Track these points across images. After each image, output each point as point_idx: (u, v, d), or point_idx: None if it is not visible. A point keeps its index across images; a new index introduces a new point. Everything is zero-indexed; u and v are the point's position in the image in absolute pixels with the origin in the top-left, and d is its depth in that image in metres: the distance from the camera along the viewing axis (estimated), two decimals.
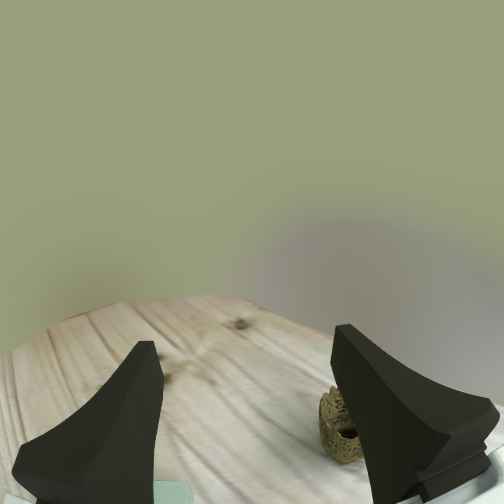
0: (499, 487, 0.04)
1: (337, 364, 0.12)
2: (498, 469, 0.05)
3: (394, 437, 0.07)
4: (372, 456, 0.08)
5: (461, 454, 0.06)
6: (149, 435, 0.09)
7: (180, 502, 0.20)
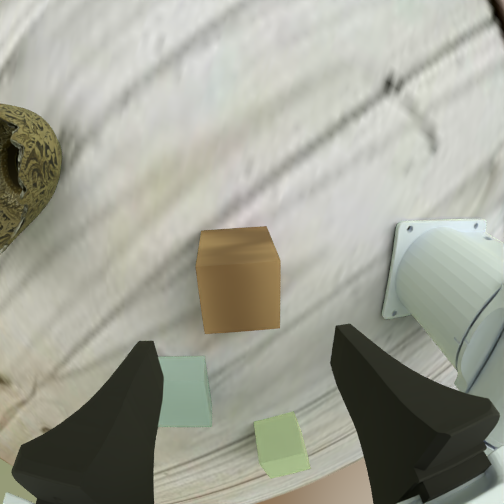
0: (499, 487, 0.04)
1: (337, 364, 0.12)
2: (498, 469, 0.05)
3: (394, 437, 0.07)
4: (372, 456, 0.08)
5: (461, 454, 0.06)
6: (149, 435, 0.09)
7: None
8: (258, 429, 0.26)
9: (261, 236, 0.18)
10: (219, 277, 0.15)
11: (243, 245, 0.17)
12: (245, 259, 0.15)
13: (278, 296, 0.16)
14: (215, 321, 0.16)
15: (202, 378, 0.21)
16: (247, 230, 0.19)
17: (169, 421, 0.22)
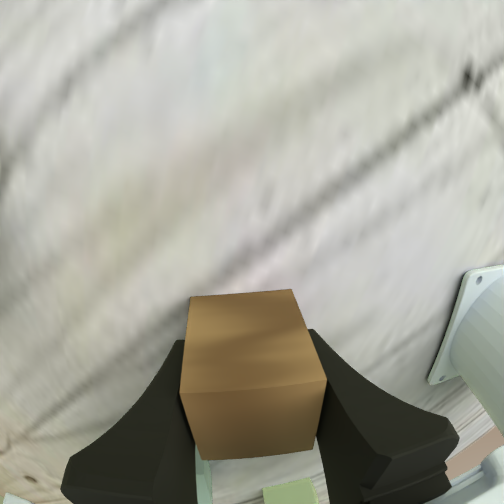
0: (499, 487, 0.04)
1: None
2: (498, 469, 0.05)
3: (344, 451, 0.07)
4: (328, 467, 0.08)
5: (416, 474, 0.05)
6: (191, 436, 0.09)
7: None
8: (268, 497, 0.19)
9: (286, 314, 0.11)
10: (222, 405, 0.08)
11: (258, 338, 0.10)
12: (267, 378, 0.08)
13: (316, 420, 0.09)
14: (217, 449, 0.09)
15: (202, 470, 0.14)
16: (263, 299, 0.12)
17: None
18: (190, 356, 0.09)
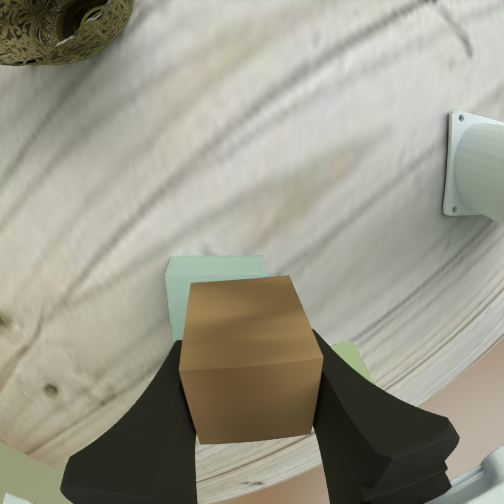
0: (499, 487, 0.04)
1: None
2: (498, 469, 0.05)
3: (344, 451, 0.07)
4: (329, 467, 0.08)
5: (416, 474, 0.05)
6: (191, 436, 0.09)
7: None
8: None
9: (284, 298, 0.11)
10: (220, 383, 0.08)
11: (256, 320, 0.10)
12: (265, 356, 0.08)
13: (314, 401, 0.09)
14: (215, 432, 0.09)
15: (265, 272, 0.19)
16: (261, 284, 0.12)
17: None
18: (190, 336, 0.09)
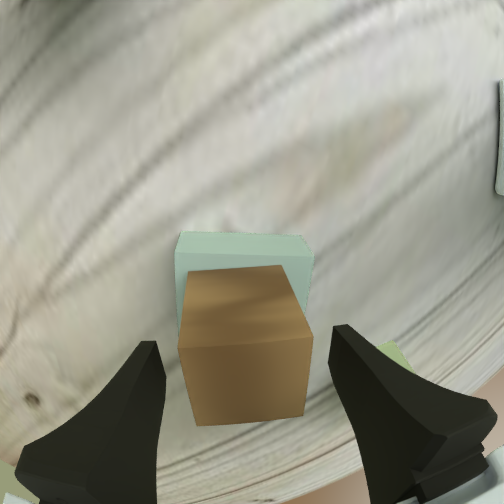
0: (499, 487, 0.04)
1: (334, 364, 0.12)
2: (498, 469, 0.05)
3: (391, 438, 0.07)
4: (369, 457, 0.08)
5: (458, 455, 0.06)
6: (152, 435, 0.09)
7: None
8: None
9: (276, 284, 0.12)
10: (217, 361, 0.09)
11: (251, 304, 0.11)
12: (258, 335, 0.09)
13: (305, 381, 0.10)
14: (212, 413, 0.10)
15: (310, 254, 0.14)
16: (255, 272, 0.13)
17: None
18: (187, 318, 0.10)
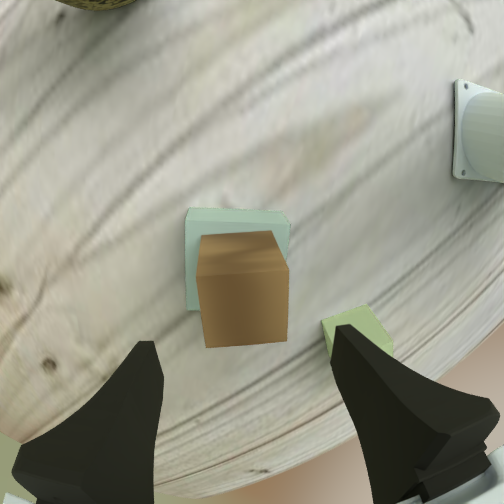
0: (499, 487, 0.04)
1: (337, 364, 0.12)
2: (498, 469, 0.05)
3: (394, 437, 0.07)
4: (372, 456, 0.08)
5: (461, 454, 0.06)
6: (149, 435, 0.09)
7: (228, 232, 0.18)
8: (329, 326, 0.23)
9: (266, 241, 0.17)
10: (222, 287, 0.14)
11: (247, 252, 0.15)
12: (251, 268, 0.14)
13: (286, 307, 0.14)
14: (217, 334, 0.15)
15: (287, 223, 0.18)
16: (251, 235, 0.17)
17: None
18: (202, 261, 0.15)
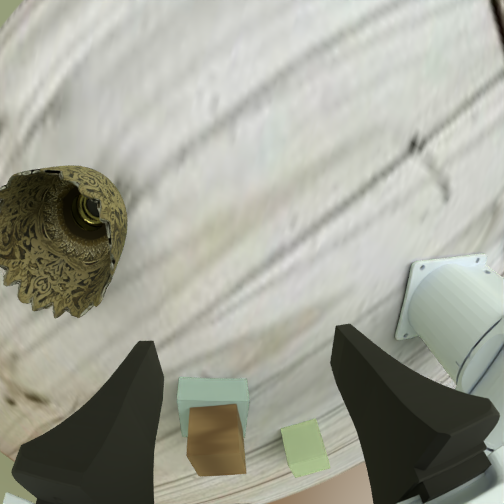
0: (499, 487, 0.04)
1: (337, 364, 0.12)
2: (498, 469, 0.05)
3: (394, 437, 0.07)
4: (372, 456, 0.08)
5: (461, 454, 0.06)
6: (149, 435, 0.09)
7: (206, 405, 0.24)
8: (285, 435, 0.29)
9: (231, 419, 0.22)
10: (202, 458, 0.20)
11: (217, 432, 0.21)
12: (218, 450, 0.20)
13: (242, 463, 0.20)
14: (204, 472, 0.21)
15: (247, 398, 0.24)
16: (222, 410, 0.23)
17: None
18: (190, 440, 0.21)
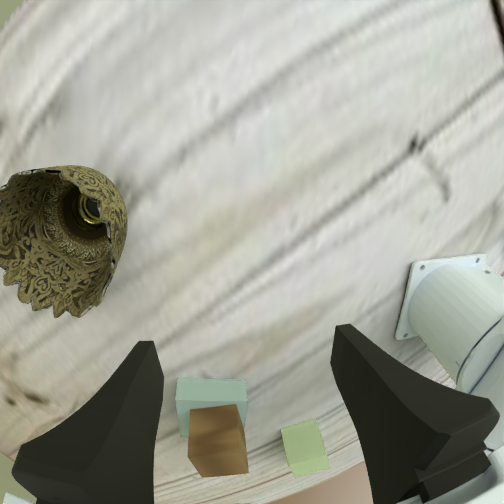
0: (499, 487, 0.04)
1: (337, 364, 0.12)
2: (498, 469, 0.05)
3: (394, 437, 0.07)
4: (372, 456, 0.08)
5: (461, 454, 0.06)
6: (149, 435, 0.09)
7: (205, 405, 0.24)
8: (285, 435, 0.29)
9: (231, 419, 0.23)
10: (204, 459, 0.20)
11: (217, 433, 0.21)
12: (218, 451, 0.20)
13: (243, 463, 0.20)
14: (207, 473, 0.21)
15: (246, 398, 0.24)
16: (222, 410, 0.24)
17: None
18: (191, 441, 0.21)
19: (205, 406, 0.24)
